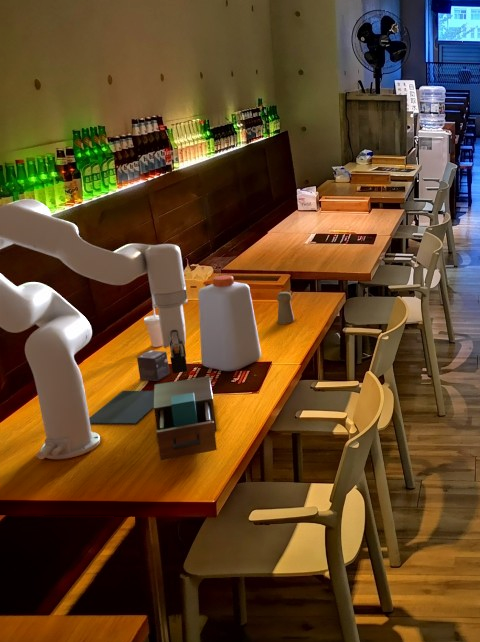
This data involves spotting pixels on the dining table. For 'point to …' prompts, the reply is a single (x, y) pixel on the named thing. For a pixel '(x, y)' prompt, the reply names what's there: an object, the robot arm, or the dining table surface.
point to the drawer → (185, 435)
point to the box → (153, 365)
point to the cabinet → (196, 386)
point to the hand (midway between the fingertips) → (179, 364)
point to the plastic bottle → (227, 325)
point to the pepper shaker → (284, 308)
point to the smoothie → (154, 329)
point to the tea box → (183, 409)
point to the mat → (125, 408)
